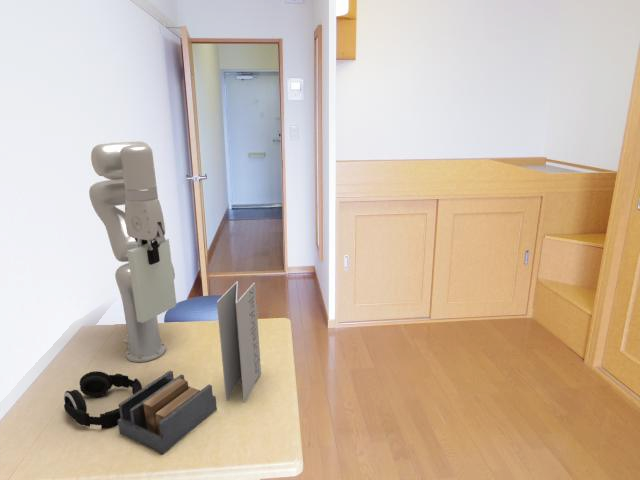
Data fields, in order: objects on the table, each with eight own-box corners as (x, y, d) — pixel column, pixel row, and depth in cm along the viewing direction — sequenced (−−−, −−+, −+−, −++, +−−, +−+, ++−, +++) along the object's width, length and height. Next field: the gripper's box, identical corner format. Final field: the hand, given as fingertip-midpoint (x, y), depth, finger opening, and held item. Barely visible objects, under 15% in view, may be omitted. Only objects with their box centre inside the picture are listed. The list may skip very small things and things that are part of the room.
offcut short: (159, 438, 115) (155, 413, 113) (193, 411, 125) (191, 387, 123) (167, 442, 114) (164, 417, 112) (202, 414, 124) (199, 390, 122)
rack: (119, 433, 117) (114, 406, 115) (176, 392, 133) (172, 368, 130) (162, 454, 110) (158, 426, 108) (216, 408, 126) (214, 383, 123)
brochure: (244, 403, 128) (236, 303, 119) (225, 400, 129) (216, 301, 120) (261, 373, 141) (255, 282, 132) (243, 372, 142) (236, 281, 133)
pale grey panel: (137, 321, 124) (126, 250, 118) (171, 304, 134) (163, 238, 128) (142, 323, 123) (132, 251, 117) (176, 305, 133) (168, 239, 127)
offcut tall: (148, 433, 117) (143, 403, 114) (183, 406, 127) (179, 378, 124) (156, 437, 116) (151, 406, 113) (191, 409, 126) (187, 381, 123)
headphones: (90, 361, 135) (154, 374, 132) (92, 384, 137) (155, 397, 134) (45, 400, 118) (118, 415, 115) (48, 425, 121) (119, 440, 118)
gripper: (109, 194, 119) (119, 261, 125) (151, 200, 112) (160, 272, 117) (133, 189, 125) (142, 253, 131) (175, 194, 118) (182, 262, 123)
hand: (150, 261), depth 124 cm, fingers closed on pale grey panel, 2 cm apart
